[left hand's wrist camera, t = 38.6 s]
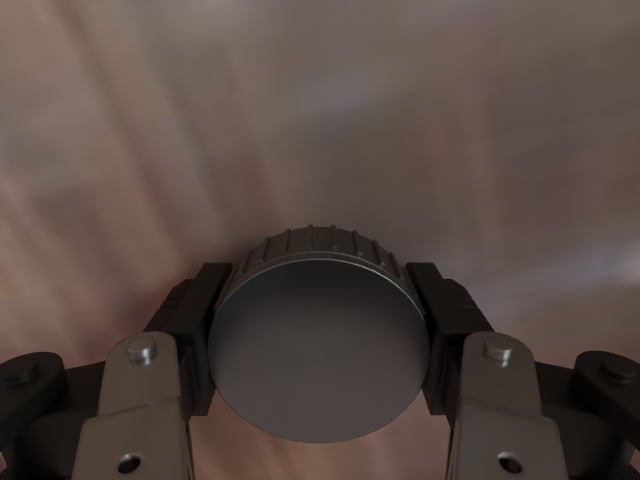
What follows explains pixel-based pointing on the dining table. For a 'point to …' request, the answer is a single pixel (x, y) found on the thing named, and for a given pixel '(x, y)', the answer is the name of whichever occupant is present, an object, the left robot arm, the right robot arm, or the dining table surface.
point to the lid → (318, 337)
